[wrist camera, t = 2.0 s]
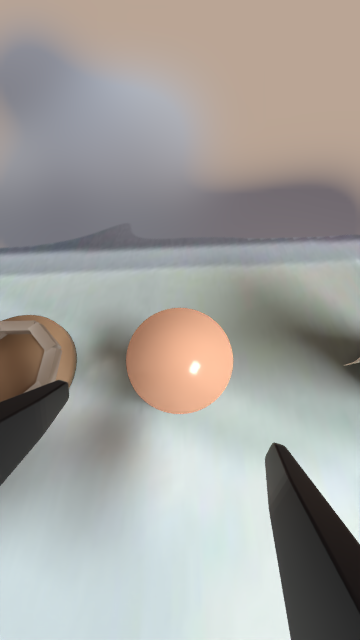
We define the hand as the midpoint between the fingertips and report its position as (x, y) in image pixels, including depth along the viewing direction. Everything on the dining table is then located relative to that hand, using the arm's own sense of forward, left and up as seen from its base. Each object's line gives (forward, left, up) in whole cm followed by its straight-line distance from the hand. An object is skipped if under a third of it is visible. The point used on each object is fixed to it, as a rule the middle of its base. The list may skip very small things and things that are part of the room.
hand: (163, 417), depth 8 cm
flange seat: (-8, +13, -10) cm, 18 cm away
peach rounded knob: (+2, +1, -10) cm, 10 cm away
